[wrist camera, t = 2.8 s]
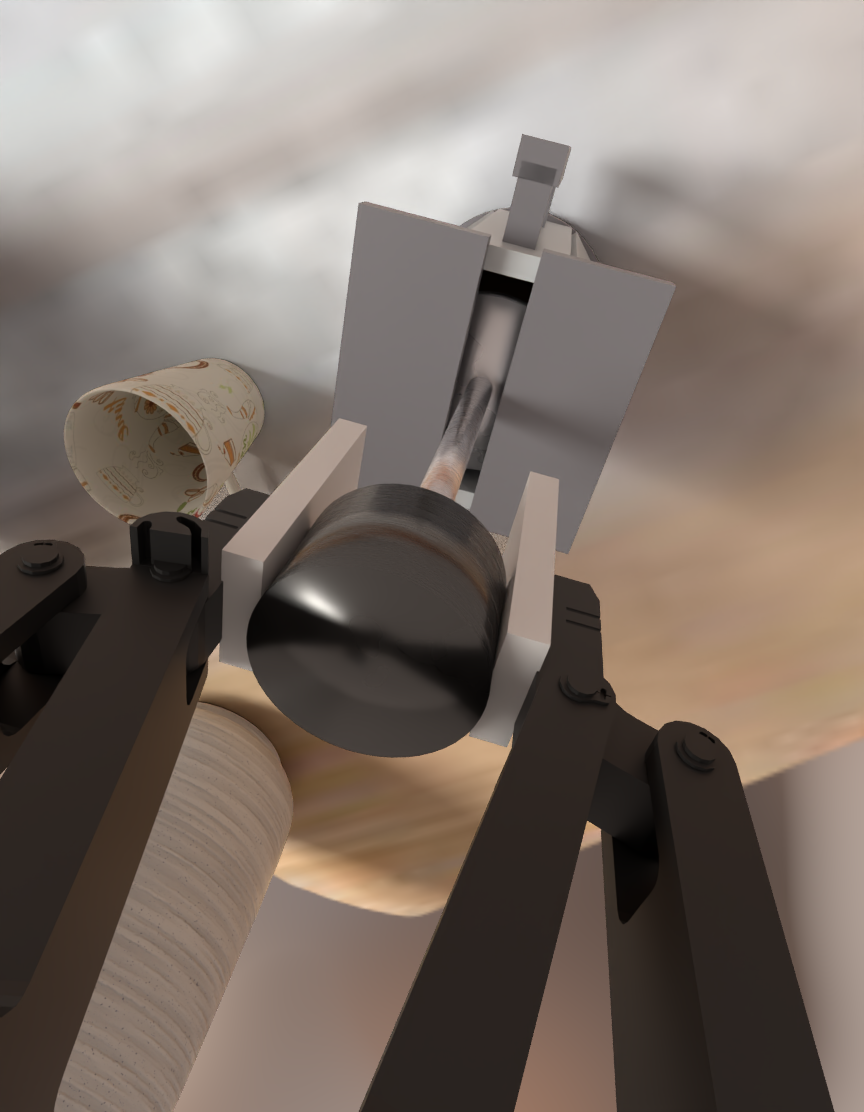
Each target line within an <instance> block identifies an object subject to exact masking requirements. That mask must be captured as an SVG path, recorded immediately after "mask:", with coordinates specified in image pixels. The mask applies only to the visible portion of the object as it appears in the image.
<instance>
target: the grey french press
mask: <svg viewBox="0 0 864 1112" xmlns="http://www.w3.org/2000/svg"><path fill="white" fill-rule="evenodd" d="M570 151H571V147H570V146H567V145H563V144H559V143H555V142H551V141H547V140H543V139H540V138H536V137H532V136H528V135H524V134H522V138H521V142H520V146H519V150H518V154H517V158H516V162H515V167H514V171H513V175H512V176H514V177H518V179H517V183H516V187H515V191H514V195H513V199H512V204H511V207H510V208H501V209H496V210H492V211H489V212H485V213H483V214H480V215H478V216H476V217H473V218H472V219H470V220H468V221H467V222H465V223H464V224H462V225H460V226H457V225H453V224H449V223H445V222H441V221H438V220H434V219H430V218H426V217H422V216H419V215H415V214H411V213H407V212H403V211H399V210H396V209H392V208H388V207H384V206H380V205H377V204H373V203H369V202H362V203H359V205H358V213H357V221H356V229H355V237H354V245H353V253H352V261H351V269H350V277H349V285H348V293H347V301H346V309H345V317H344V325H343V333H342V341H341V349H340V357H339V365H338V373H337V381H336V389H335V397H334V405H333V413H332V421H331V427H332V426H333V425H334V423H335V422H336V421H337V420H338V419H339V418H341V419H344V420H348V421H351V422H355V423H359V424H362V425H366V426H367V430H366V436H365V442H364V449H363V455H362V461H361V467H360V474H359V480H358V486H357V489H359V488H362V487H366V486H370V485H376V484H392V483H396V484H406V485H413V486H417V487H420V485H421V483H422V481H423V479H424V477H425V475H426V473H427V470H428V468H429V466H430V464H431V462H432V460H433V458H434V455H435V453H436V451H437V449H438V447H439V445H440V443H441V440H442V438H443V436H444V434H445V429H446V425H447V421H448V417H449V412H450V408H451V404H452V400H453V395H454V391H455V387H456V383H457V379H458V374H459V370H460V366H461V362H462V357H463V353H464V349H465V345H466V340H467V336H468V332H469V328H470V324H471V319H472V315H473V311H474V307H475V302H476V298H477V294H478V291H493V292H499V293H504V294H508V295H510V296H513V297H516V298H518V299H520V300H522V301H524V302H526V303H528V305H527V309H526V313H525V316H524V320H523V323H522V327H521V330H520V334H519V337H518V341H517V344H516V348H515V352H514V355H513V359H512V362H511V366H510V369H509V373H508V376H507V380H506V383H505V387H504V391H503V394H502V398H501V401H500V405H499V408H498V412H497V415H496V419H495V422H494V426H493V430H492V433H491V437H490V440H489V444H488V447H487V451H486V454H485V458H484V461H483V465H482V468H481V470H474V469H467V468H466V470H465V473H464V475H463V478H462V481H461V484H460V487H459V490H458V493H457V495H456V498H455V502H456V503H458V504H460V505H461V506H463V507H464V508H465V509H469V510H470V511H469V512H470V513H472V514H473V515H474V516H475V517H476V518H477V519H478V520H479V521H480V522H481V523H482V524H483V525H484V526H485V528H486V529H487V530H488V531H489V532H492V533H496V534H499V535H503V536H506V537H509V534H510V531H511V528H512V525H513V522H514V519H515V516H516V513H517V510H518V507H519V504H520V501H521V498H522V495H523V492H524V489H525V486H526V483H527V480H528V477H529V474H530V471H531V472H535V473H538V474H542V475H546V476H549V477H553V478H556V479H559V490H558V510H557V529H556V549H555V550H556V551H559V552H563V553H566V554H568V553H569V551H570V548H571V546H572V543H573V541H574V538H575V536H576V533H577V531H578V529H579V526H580V524H581V521H582V519H583V516H584V514H585V511H586V509H587V506H588V504H589V501H590V499H591V496H592V494H593V491H594V489H595V486H596V484H597V482H598V479H599V477H600V474H601V472H602V469H603V467H604V464H605V462H606V459H607V457H608V454H609V452H610V449H611V447H612V444H613V442H614V439H615V437H616V435H617V432H618V430H619V427H620V425H621V422H622V420H623V417H624V415H625V412H626V410H627V407H628V405H629V402H630V400H631V397H632V395H633V392H634V390H635V388H636V385H637V383H638V380H639V378H640V375H641V373H642V370H643V368H644V365H645V363H646V360H647V358H648V355H649V353H650V350H651V348H652V345H653V343H654V341H655V338H656V336H657V333H658V331H659V328H660V326H661V323H662V321H663V318H664V316H665V313H666V311H667V308H668V306H669V303H670V301H671V298H672V296H673V294H674V291H675V289H676V285H675V284H674V283H673V282H670V281H667V280H663V279H659V278H655V277H651V276H647V275H644V274H640V273H636V272H632V271H628V270H625V269H621V268H617V267H613V266H609V265H606V264H602V263H599V261H598V259H597V257H596V256H595V254H594V252H593V250H592V249H591V247H590V246H589V245H588V243H587V242H586V241H585V239H584V238H583V237H582V236H581V235H580V234H579V233H578V232H577V231H576V230H575V229H574V228H572V227H571V226H570V225H568V224H567V223H566V222H564V221H563V220H561V219H559V218H557V217H555V216H553V215H551V214H548V213H549V210H550V206H551V202H552V199H553V195H554V192H555V188H556V187H557V188H558V187H559V185H560V183H561V181H562V179H563V176H564V172H565V169H566V165H567V162H568V158H569V154H570Z"/></svg>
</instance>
